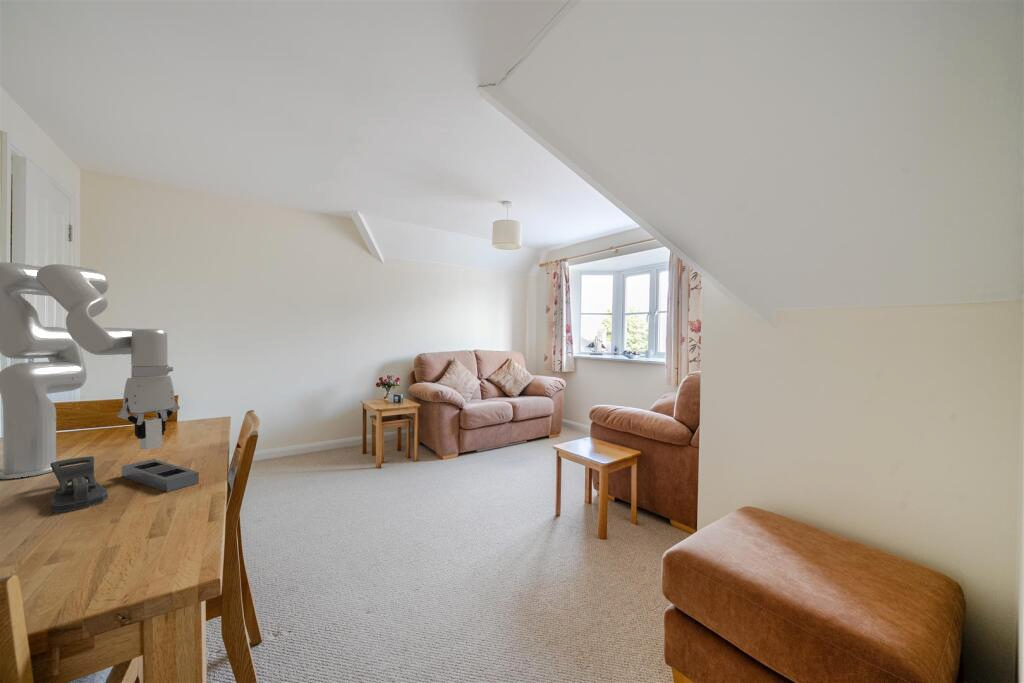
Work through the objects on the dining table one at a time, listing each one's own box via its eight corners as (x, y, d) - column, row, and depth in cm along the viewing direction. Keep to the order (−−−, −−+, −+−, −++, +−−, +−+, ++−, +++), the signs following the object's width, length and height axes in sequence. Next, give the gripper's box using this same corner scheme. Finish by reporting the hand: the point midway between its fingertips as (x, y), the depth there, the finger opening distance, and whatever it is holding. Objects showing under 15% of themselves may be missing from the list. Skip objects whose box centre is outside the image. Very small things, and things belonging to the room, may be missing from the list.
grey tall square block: (139, 448, 108) (138, 420, 108) (155, 445, 112) (154, 417, 112) (146, 449, 107) (145, 420, 107) (162, 446, 110) (161, 418, 110)
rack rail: (121, 476, 109) (122, 465, 109) (153, 469, 115) (153, 458, 115) (167, 492, 99) (167, 480, 99) (198, 483, 105) (198, 472, 105)
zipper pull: (96, 454, 108) (109, 475, 92) (96, 478, 108) (109, 503, 92) (46, 462, 100) (51, 486, 85) (46, 487, 101) (51, 516, 85)
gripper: (177, 369, 118) (178, 428, 118) (103, 374, 103) (104, 442, 103) (191, 370, 115) (192, 431, 115) (116, 375, 100) (117, 445, 100)
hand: (150, 435), depth 109 cm, fingers closed on grey tall square block, 3 cm apart
